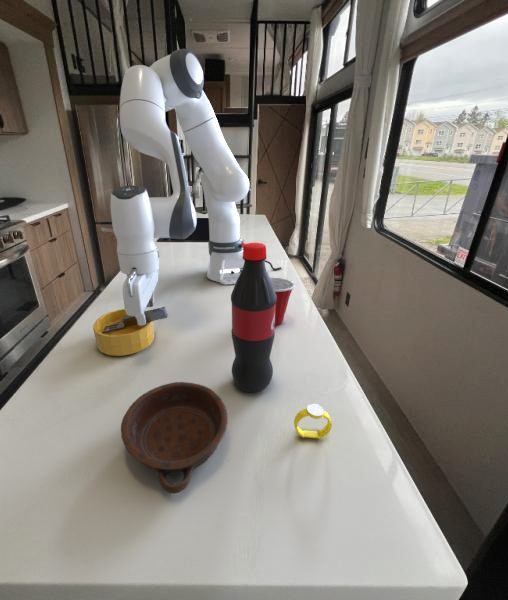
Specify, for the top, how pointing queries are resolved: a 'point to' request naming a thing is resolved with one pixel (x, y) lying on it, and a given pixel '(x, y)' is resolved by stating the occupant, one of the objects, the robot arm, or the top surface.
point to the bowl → (122, 335)
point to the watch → (316, 413)
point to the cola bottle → (253, 321)
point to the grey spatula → (131, 320)
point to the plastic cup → (281, 297)
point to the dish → (174, 429)
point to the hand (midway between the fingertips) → (146, 314)
